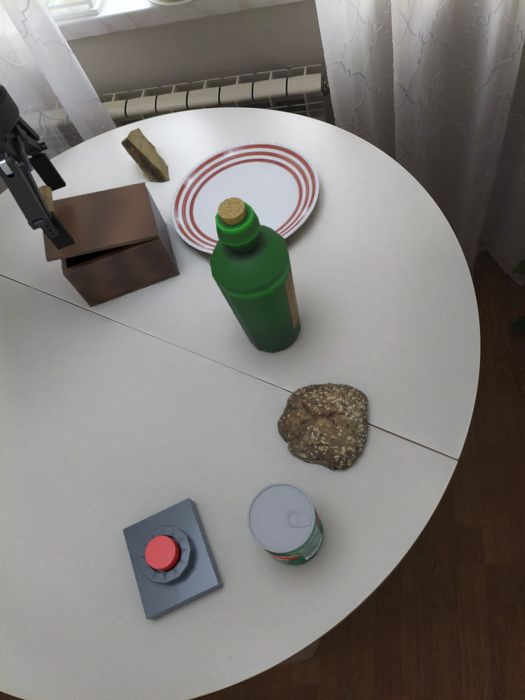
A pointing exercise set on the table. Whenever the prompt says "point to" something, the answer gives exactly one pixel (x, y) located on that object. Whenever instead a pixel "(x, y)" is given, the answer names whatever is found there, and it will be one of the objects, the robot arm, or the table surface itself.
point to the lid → (101, 220)
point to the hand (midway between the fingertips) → (62, 215)
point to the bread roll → (325, 424)
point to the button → (162, 553)
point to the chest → (123, 266)
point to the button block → (191, 568)
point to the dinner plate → (246, 190)
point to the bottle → (255, 276)
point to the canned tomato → (286, 524)
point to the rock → (145, 156)
